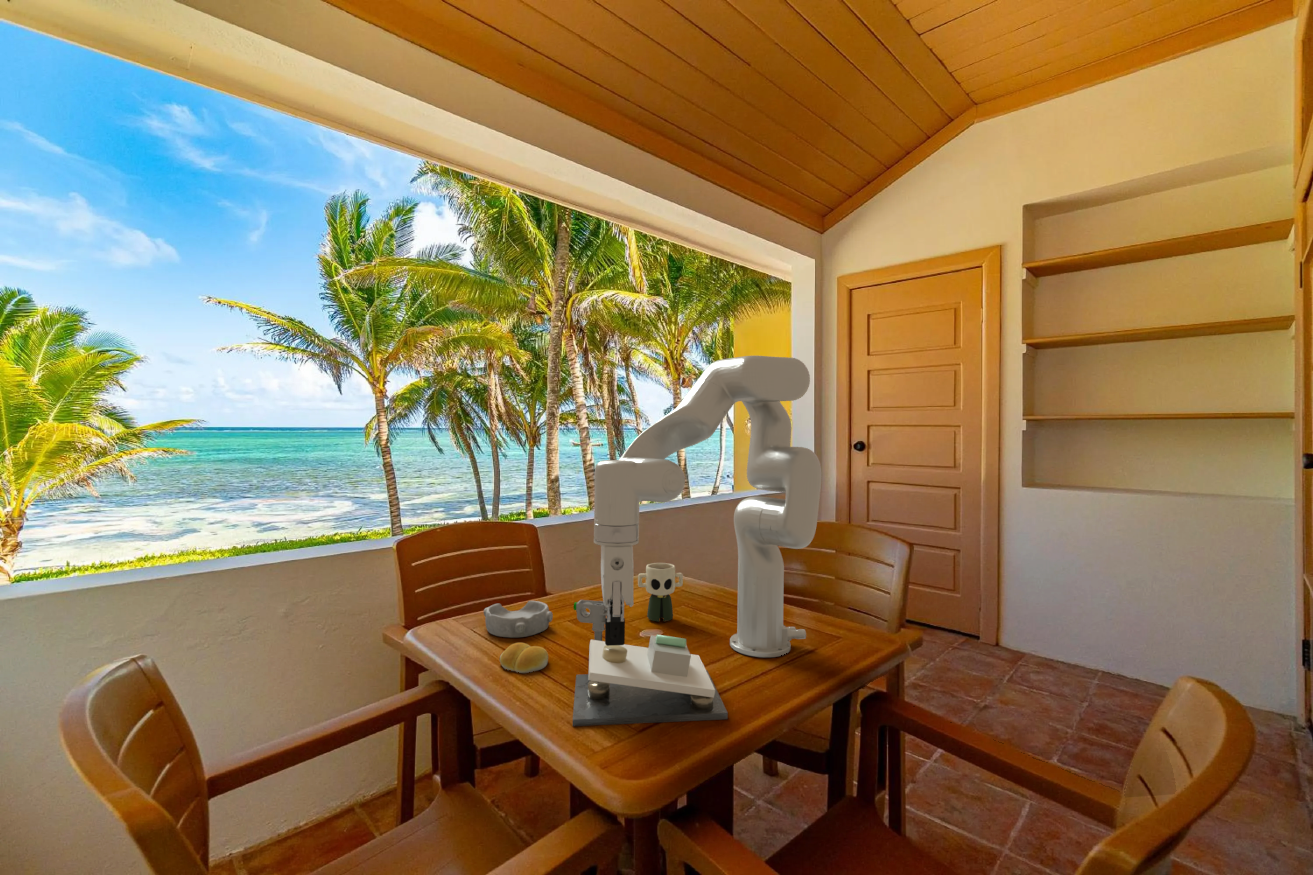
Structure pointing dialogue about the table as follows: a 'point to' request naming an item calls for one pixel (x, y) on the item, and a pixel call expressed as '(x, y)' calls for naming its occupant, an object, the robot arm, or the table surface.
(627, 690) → the dark grey rectangular slab
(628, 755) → the table surface
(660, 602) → the character mug
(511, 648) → the bread roll
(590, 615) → the mechanical component
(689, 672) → the levelling plate
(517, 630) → the dish
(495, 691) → the table surface
